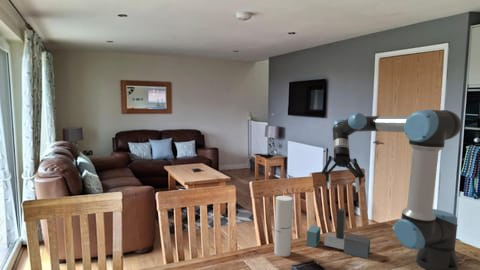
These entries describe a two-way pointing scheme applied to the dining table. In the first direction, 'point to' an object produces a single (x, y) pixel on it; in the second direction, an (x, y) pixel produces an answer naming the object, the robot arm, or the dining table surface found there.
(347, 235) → the matte charcoal box
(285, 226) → the cylindrical container
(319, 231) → the socket block
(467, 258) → the dining table surface
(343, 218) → the gray bar with post
